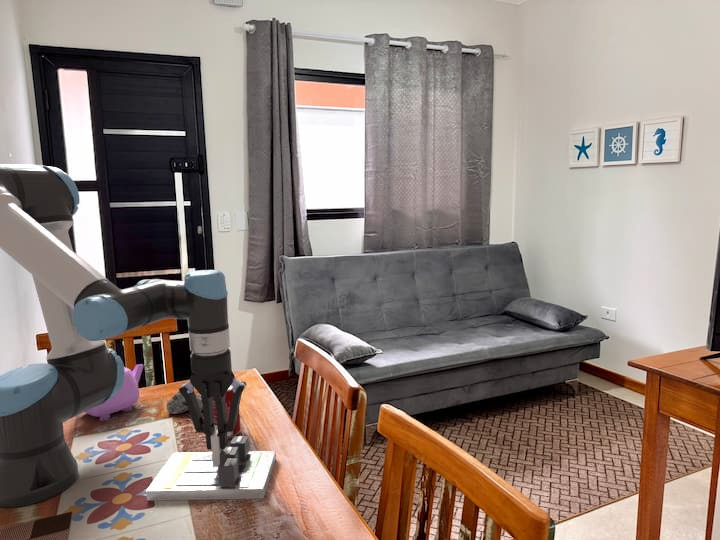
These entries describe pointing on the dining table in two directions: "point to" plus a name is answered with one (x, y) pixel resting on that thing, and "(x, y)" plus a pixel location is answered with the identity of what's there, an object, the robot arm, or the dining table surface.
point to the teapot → (121, 396)
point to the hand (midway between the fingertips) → (218, 463)
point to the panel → (211, 478)
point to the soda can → (227, 413)
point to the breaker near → (228, 471)
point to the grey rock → (180, 404)
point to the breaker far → (241, 445)
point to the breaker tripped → (229, 453)
